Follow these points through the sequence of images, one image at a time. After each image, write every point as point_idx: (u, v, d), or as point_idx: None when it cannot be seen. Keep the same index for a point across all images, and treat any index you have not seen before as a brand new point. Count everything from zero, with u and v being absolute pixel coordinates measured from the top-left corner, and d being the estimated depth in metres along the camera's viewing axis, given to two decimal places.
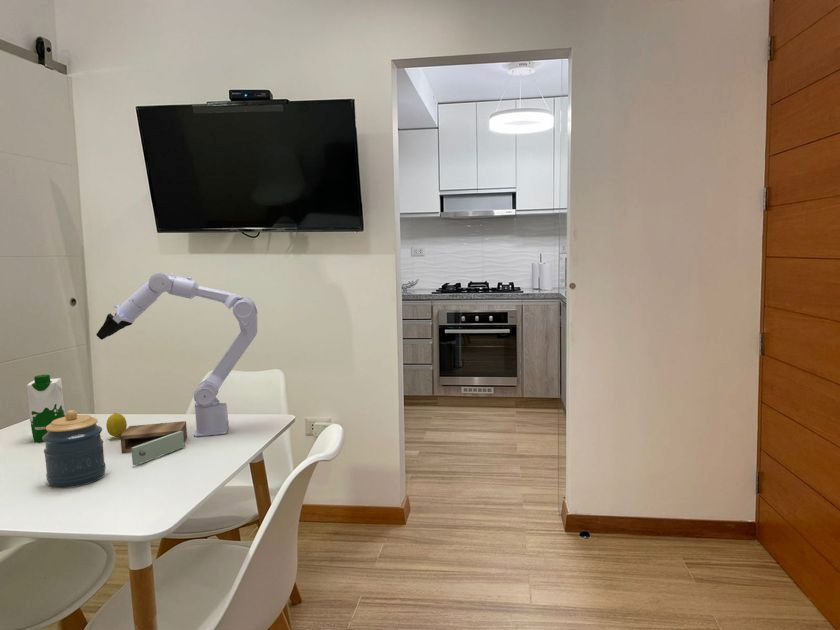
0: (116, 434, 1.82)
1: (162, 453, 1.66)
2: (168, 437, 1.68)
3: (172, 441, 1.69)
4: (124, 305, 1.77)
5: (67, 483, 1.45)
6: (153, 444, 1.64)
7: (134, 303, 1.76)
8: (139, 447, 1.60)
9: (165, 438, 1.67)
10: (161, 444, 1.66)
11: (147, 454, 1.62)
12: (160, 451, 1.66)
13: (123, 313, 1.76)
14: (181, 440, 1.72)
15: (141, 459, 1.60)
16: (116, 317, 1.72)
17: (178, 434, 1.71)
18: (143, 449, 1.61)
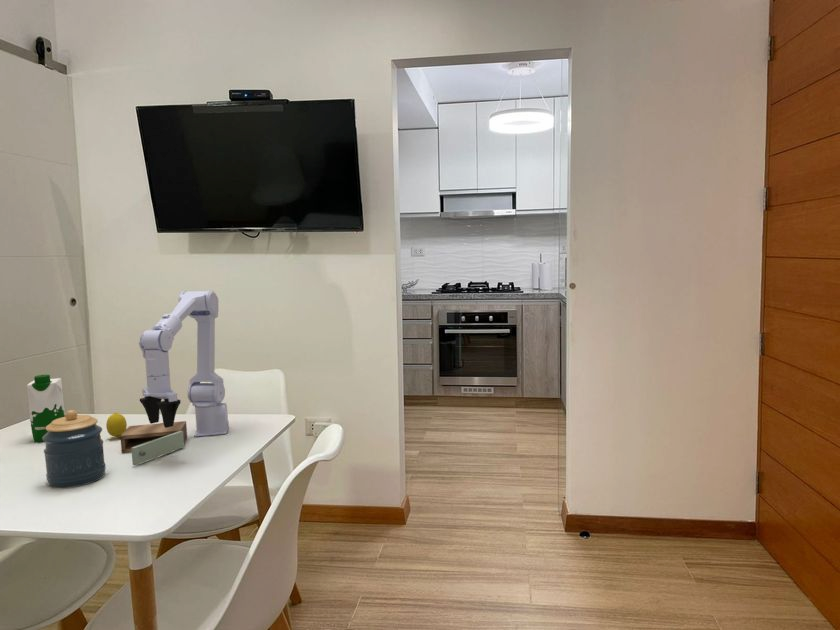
0: (116, 434, 1.82)
1: (162, 453, 1.66)
2: (168, 437, 1.68)
3: (172, 441, 1.69)
4: (155, 386, 1.58)
5: (67, 483, 1.45)
6: (153, 444, 1.64)
7: (161, 376, 1.59)
8: (139, 447, 1.60)
9: (165, 438, 1.67)
10: (161, 444, 1.66)
11: (147, 454, 1.62)
12: (160, 451, 1.66)
13: (163, 391, 1.59)
14: (181, 440, 1.72)
15: (141, 459, 1.60)
16: (172, 397, 1.56)
17: (178, 434, 1.71)
18: (143, 449, 1.61)
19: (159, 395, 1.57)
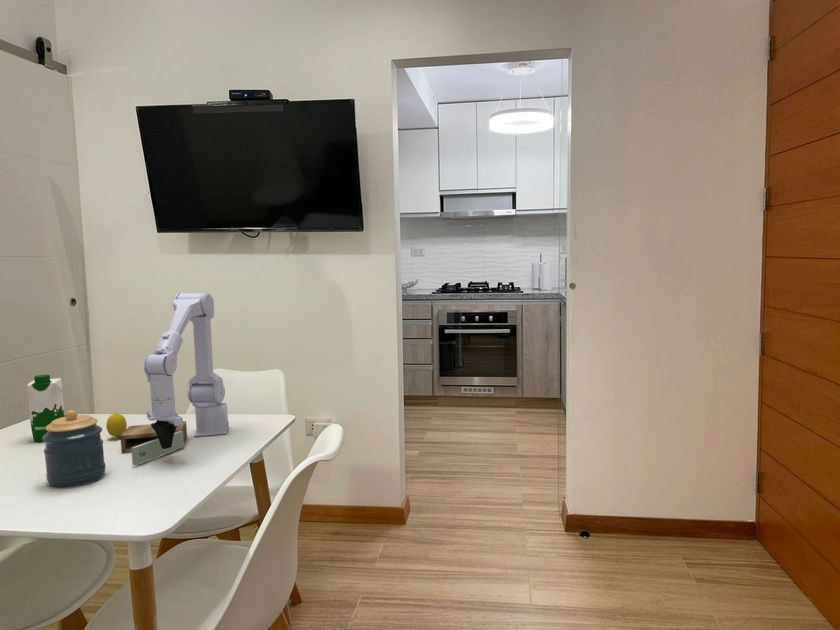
0: (116, 434, 1.82)
1: (162, 453, 1.66)
2: None
3: None
4: (161, 410, 1.59)
5: (67, 483, 1.45)
6: (153, 444, 1.64)
7: (166, 400, 1.59)
8: (139, 447, 1.60)
9: None
10: None
11: (147, 454, 1.62)
12: (160, 451, 1.66)
13: (168, 415, 1.60)
14: (181, 440, 1.72)
15: (141, 459, 1.60)
16: (177, 422, 1.57)
17: (178, 434, 1.71)
18: (143, 449, 1.61)
19: (164, 419, 1.58)
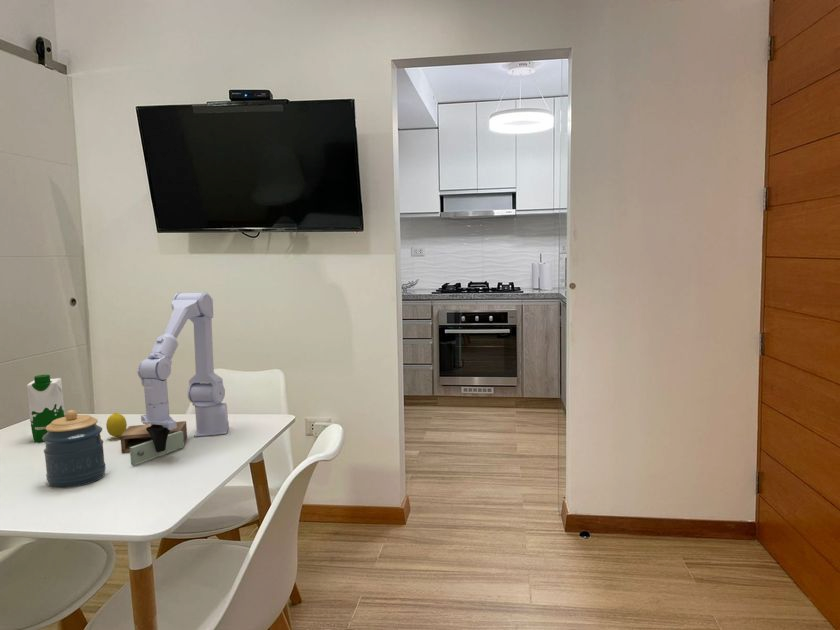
0: (116, 434, 1.82)
1: (161, 453, 1.66)
2: (167, 437, 1.68)
3: (172, 441, 1.69)
4: (155, 414, 1.61)
5: (67, 483, 1.45)
6: (152, 444, 1.64)
7: (160, 404, 1.61)
8: (137, 447, 1.60)
9: None
10: None
11: (145, 454, 1.62)
12: None
13: (162, 419, 1.62)
14: (181, 440, 1.72)
15: (139, 459, 1.61)
16: (171, 425, 1.59)
17: (177, 434, 1.71)
18: (142, 449, 1.61)
19: (158, 423, 1.60)
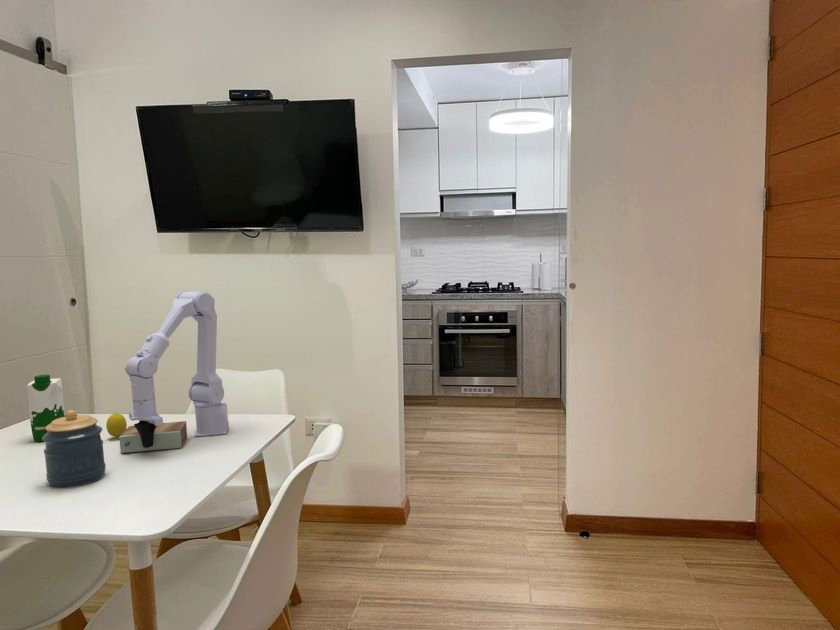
0: (116, 434, 1.82)
1: (153, 448, 1.71)
2: (161, 434, 1.71)
3: (166, 439, 1.71)
4: (141, 410, 1.65)
5: (67, 483, 1.45)
6: None
7: (147, 400, 1.66)
8: (125, 437, 1.69)
9: (157, 434, 1.71)
10: None
11: (134, 445, 1.70)
12: None
13: (149, 415, 1.66)
14: (177, 440, 1.72)
15: (127, 449, 1.69)
16: (158, 421, 1.63)
17: (173, 434, 1.72)
18: (130, 440, 1.69)
19: (145, 419, 1.64)
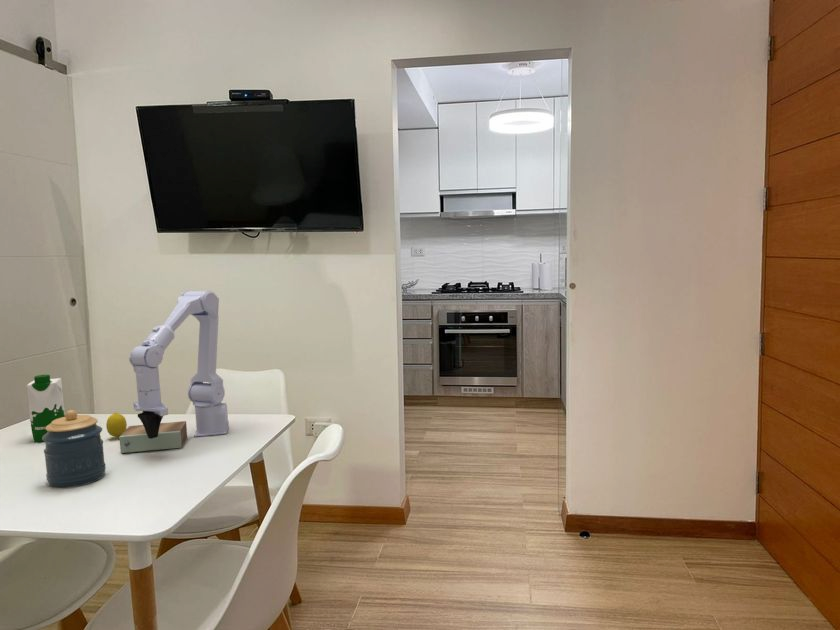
0: (116, 434, 1.82)
1: (153, 448, 1.71)
2: (161, 434, 1.71)
3: (166, 439, 1.71)
4: (146, 400, 1.63)
5: (67, 483, 1.45)
6: (142, 437, 1.70)
7: (152, 391, 1.63)
8: (125, 437, 1.69)
9: None
10: (152, 439, 1.71)
11: (134, 445, 1.70)
12: (151, 445, 1.71)
13: (154, 406, 1.64)
14: (177, 440, 1.72)
15: (127, 449, 1.69)
16: (163, 412, 1.61)
17: (173, 434, 1.72)
18: (130, 440, 1.69)
19: (150, 410, 1.62)
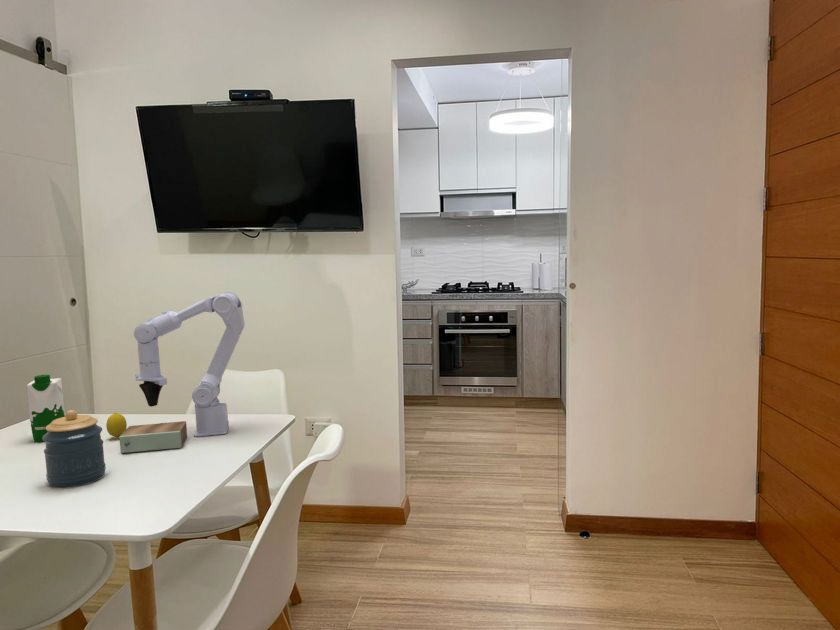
0: (116, 434, 1.82)
1: (153, 448, 1.71)
2: (161, 434, 1.71)
3: (166, 439, 1.71)
4: (147, 371, 1.81)
5: (67, 483, 1.45)
6: (142, 437, 1.70)
7: (152, 363, 1.81)
8: (125, 437, 1.69)
9: (157, 434, 1.71)
10: (152, 439, 1.71)
11: (134, 445, 1.70)
12: (151, 445, 1.71)
13: (154, 376, 1.82)
14: (177, 440, 1.72)
15: (127, 449, 1.69)
16: (162, 382, 1.79)
17: (173, 434, 1.72)
18: (130, 440, 1.69)
19: (151, 380, 1.80)
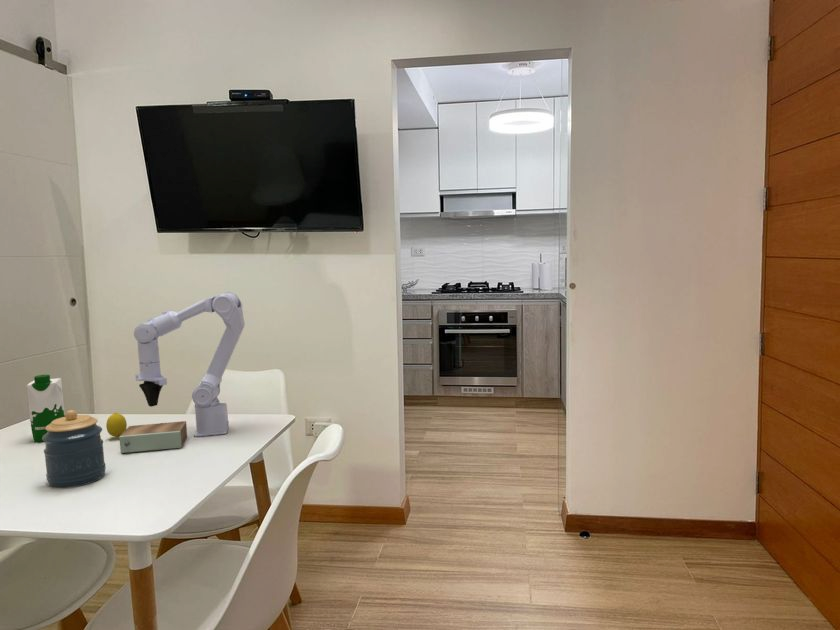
0: (116, 434, 1.82)
1: (153, 448, 1.71)
2: (161, 434, 1.71)
3: (166, 439, 1.71)
4: (147, 371, 1.81)
5: (67, 483, 1.45)
6: (142, 437, 1.70)
7: (152, 363, 1.81)
8: (125, 437, 1.69)
9: (157, 434, 1.71)
10: (152, 439, 1.71)
11: (134, 445, 1.70)
12: (151, 445, 1.71)
13: (154, 376, 1.82)
14: (177, 440, 1.72)
15: (127, 449, 1.69)
16: (162, 382, 1.79)
17: (173, 434, 1.72)
18: (130, 440, 1.69)
19: (151, 380, 1.80)
